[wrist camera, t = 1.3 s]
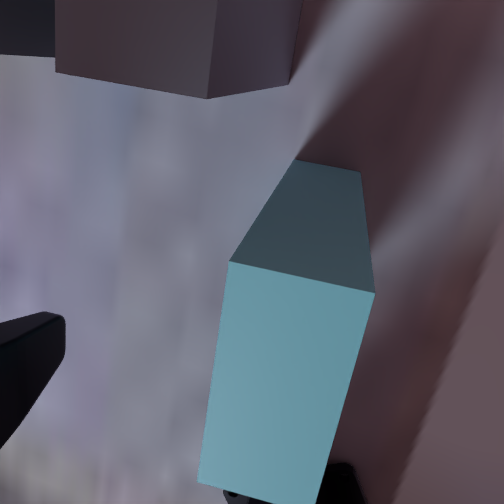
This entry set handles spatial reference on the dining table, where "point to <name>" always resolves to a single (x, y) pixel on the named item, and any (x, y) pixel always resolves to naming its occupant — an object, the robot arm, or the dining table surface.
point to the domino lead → (289, 337)
